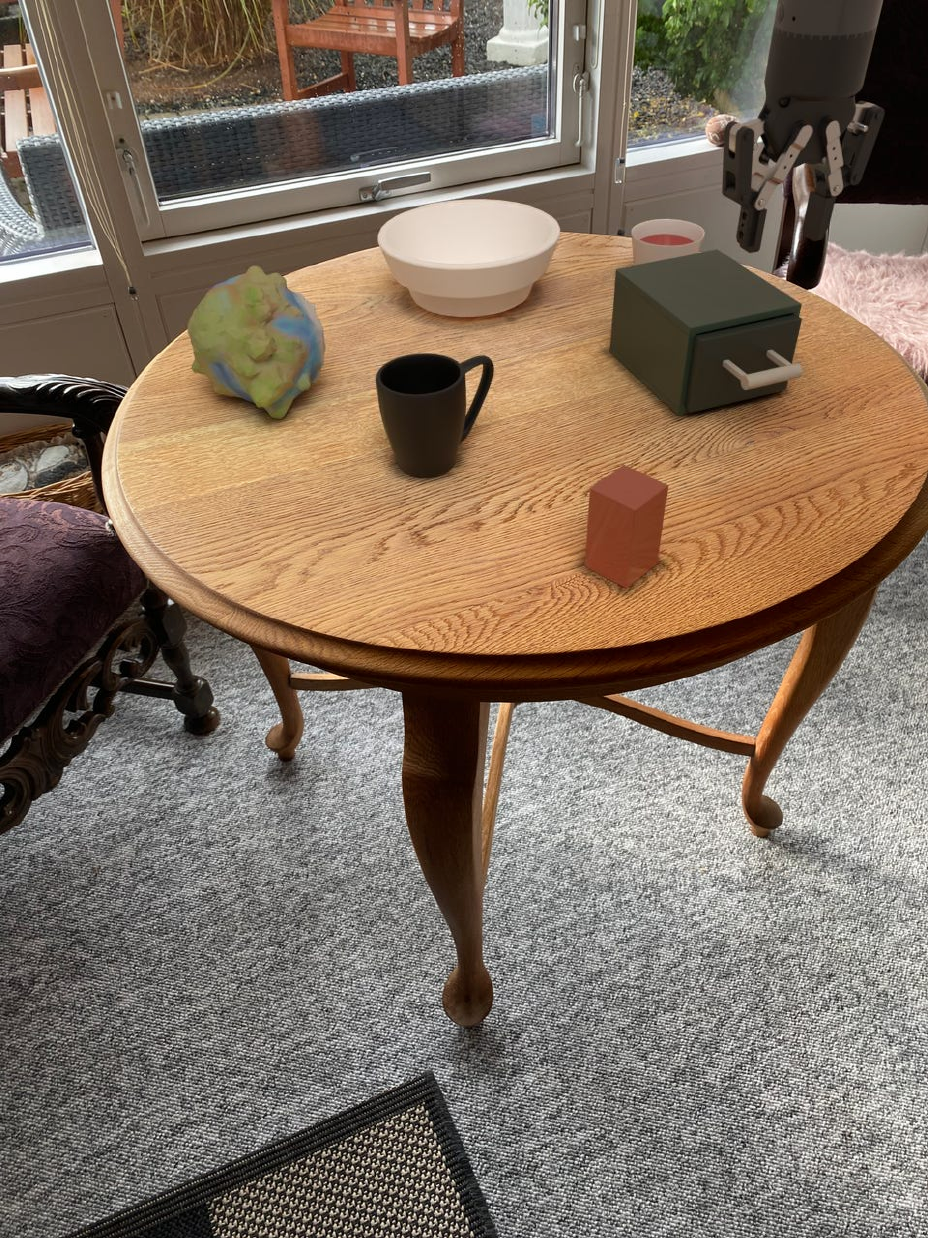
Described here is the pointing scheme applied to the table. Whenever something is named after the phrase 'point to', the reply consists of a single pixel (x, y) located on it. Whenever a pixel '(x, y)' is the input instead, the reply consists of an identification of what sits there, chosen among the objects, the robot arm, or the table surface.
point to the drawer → (742, 362)
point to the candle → (665, 240)
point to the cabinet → (684, 315)
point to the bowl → (469, 254)
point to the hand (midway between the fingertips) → (780, 242)
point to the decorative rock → (257, 340)
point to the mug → (429, 408)
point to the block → (625, 525)
